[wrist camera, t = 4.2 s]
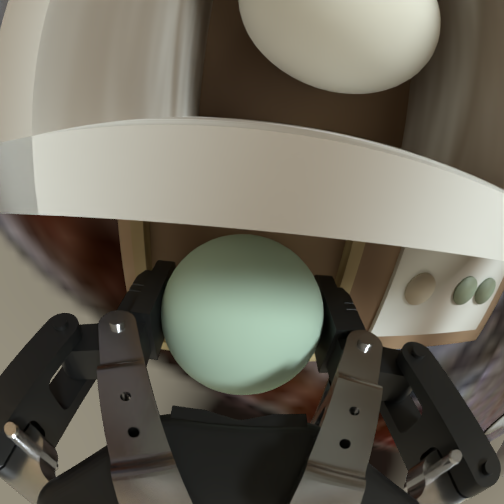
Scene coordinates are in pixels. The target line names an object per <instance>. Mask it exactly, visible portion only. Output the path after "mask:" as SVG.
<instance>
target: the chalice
mask: <svg viewBox="0 0 504 504" xmlns="http://www.w3.org/2000/svg"><path fill="white" fill-rule="evenodd" d="M498 428H503V429H504V415H503V416H502V417H501V418H500V419H499V420H498V421H496V422H495V423H494V424H493V425H492V426H491V427H490V428H489V429H488V430H487V431H486V432H485V435H488V434H490V433H492V432H494V431H495V430H497V429H498ZM496 455H497V457H498V459H499V461H500V465H501V473H500V476H501V477H503V476H504V442H503V443H502V445H501V447H500V449H499V450H498V452H497V454H496Z"/></svg>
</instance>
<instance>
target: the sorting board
mask: <svg viewBox="0 0 504 504" xmlns="http://www.w3.org/2000/svg"><path fill="white" fill-rule="evenodd" d="M437 2H438V5H439V9H440V17H441V27H440V36H439V41H438V44H437V46H436V49H435V51H434V53H433V55H432V57H431V58H430V60H429V62H428V63H427V64H426V65H425V66H424V67H423V68H422V69H421V70H420V72H419V73H418V74H416V75H415V76H413V77H412V78H411V79H409V80H408V81H406V82H404V83H402V84H400V85H398V86H396V87H393V88H390V89H387V90H384V91H380V92H375V93H368V94H345V93H337V92H330V91H326V90H323V89H319V88H316V87H313V86H311V85H308V84H305V83H303V82H301V81H299V80H297V79H295V78H293V77H291V76H290V75H288V74H287V73H285V72H283V71H282V70H280V69H279V68H278V67H277V66H275V65H274V64H273V63H271V62H270V61H269V60H268V59H267V58H266V57H265V56H264V55H263V54H262V53H261V52H260V50H259V49H258V48H257V47H256V46H255V44H254V43H253V41H252V40H251V38H250V36H249V35H248V33H247V31H246V28H245V26H244V24H243V21H242V17H241V14H240V11H239V2H238V0H9V1H8V4H7V8H6V11H5V14H4V18H3V21H2V25H1V29H0V213H6V214H32V215H54V216H74V217H91V218H108V219H118V228H119V238H120V248H121V256H122V263H123V271H124V277H125V284H126V290H127V292H128V291H129V289H130V287H131V285H133V282H134V280H135V279H136V277H137V276H138V275H139V274H141V273H142V272H143V271H145V270H150V271H152V269H153V267H154V266H155V264H156V262H157V261H158V260H163V261H173V262H175V264H176V267H177V266H178V264H179V263H180V262H181V261H182V260H183V259H184V258H185V257H186V256H187V255H188V254H189V253H190V252H191V251H193V250H194V249H196V248H197V247H199V246H200V245H202V244H204V243H206V242H208V241H210V240H213V239H216V238H218V237H222V236H227V235H234V234H251V235H257V236H262V237H266V238H269V239H272V240H274V241H276V242H279V243H280V244H282V245H284V246H285V247H287V248H289V249H290V250H291V251H293V252H294V253H295V254H296V255H298V256H299V257H300V259H301V260H302V261H303V262H304V263H305V264H306V265H307V266H308V268H309V269H310V271H311V272H312V274H313V276H315V275H329V276H333V278H334V281H335V283H336V285H337V287H341V288H343V289H344V290H345V291H346V292H347V293H349V294H350V296H351V298H352V300H353V304H354V305H355V307H356V310H357V311H358V313H359V316H360V318H361V320H362V322H363V325H364V327H365V329H366V331H369V332H371V333H373V334H375V335H376V336H377V337H378V338H379V339H380V340H381V342H382V345H383V347H387V348H391V349H402V347H403V345H404V344H405V343H407V342H418V343H420V344H422V345H424V346H425V347H426V346H436V345H445V344H453V343H460V342H467V341H473V340H476V339H477V337H478V336H479V334H480V332H481V331H482V329H483V327H484V326H485V324H486V322H487V321H488V319H489V317H490V315H491V313H492V312H493V310H494V308H495V306H496V304H497V302H498V300H499V298H500V296H501V294H502V292H503V290H504V0H437ZM161 349H164V350H169V348H168V346H167V343H166V340H165V338H164V341H163V344H162V347H161ZM309 361H316V357H315V353H314V354H313V356H312V357H311V359H310V360H309Z"/></svg>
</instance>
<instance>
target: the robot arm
mask: <svg viewBox="0 0 504 504" xmlns="http://www.w3.org/2000/svg"><path fill="white" fill-rule="evenodd" d="M175 268H176V264H175V262H173V261H163V260H158V261H157V262H156V264H155V266H154V267H153V269H152V271H150V270H145V271H143V272H142V273H141V274H139V275H138V276H137V277H136V279H135V280H134V282H133V285H131V287H130V289H129V291H128V292H127V294H126V295H125V297H124V299H123V300H122V302H121V304H120V306H119V307H118V309H117V310H116V311H111V312H109V313H107V314H105V315H104V316H103V317H102V318H101V319H100V320H99V323H97V324H83V325H79V322H78V320H77V318H76V317H75V316H74V315H72V314H69V313H61V314H57V315H55V316H53V317H52V318H50V319H49V320H48V321H47V322H46V323H45V324H44V325H43V327H42V328H41V329H40V330H39V331H38V332H37V333H36V334H35V335H34V337H33V338H32V339H31V340H30V341H29V342H28V343H27V344H26V345H25V347H24V348H23V349H22V350H21V351H20V352H19V354H18V355H17V356H16V357H15V358H14V360H13V361H12V362H11V363H10V364H9V365H8V367H7V368H6V369H5V370H4V372H3V373H2V374H1V376H0V478H1V479H3V480H4V481H5V482H6V483H7V484H9V485H10V486H11V487H12V488H13V489H15V490H16V491H17V492H18V493H19V494H20V495H22V496H23V497H24V498H25V499H27V500H28V501H29V502H31V503H32V504H460V503H462V502H464V501H466V500H468V499H470V498H472V497H473V496H475V495H477V494H479V493H481V492H482V491H484V490H486V489H487V488H489V487H491V486H492V485H494V484H495V483H496V482H497V480H498V479H499V476H500V473H501V465H500V461H499V459H498V457H497V455H496V453H495V451H494V449H493V448H492V446H491V444H490V442H489V441H488V439H487V437H486V435H485V434H484V432H483V430H482V428H481V427H480V425H479V423H478V422H477V420H476V419H475V417H474V415H473V414H472V412H471V410H470V409H469V407H468V406H467V404H466V403H465V401H464V400H463V398H462V396H461V395H460V393H459V392H458V390H457V389H456V387H455V386H454V384H453V383H452V381H451V380H450V379H449V377H448V376H447V374H446V373H445V371H444V370H443V369H442V367H441V366H440V364H439V363H438V361H437V360H436V359H435V357H434V356H433V355H432V353H431V352H430V350H429V349H428V348H427V347H425V346H424V345H422V344H420V343H418V342H407V343H405V344H404V345H403V347H402V349H401V350H396V349H391V348H387V347H383V345H382V342H381V340H380V339H379V338H378V337H377V336H376V335H375V334H373V333H371V332H369V331H366V329H365V327H364V325H363V322H362V320H361V318H360V316H359V313H358V311H357V310H356V307H355V305H354V304H353V300H352V298H351V296H350V294H349V293H347V292H346V291H345V290H344V289H343V288H341V287H337V285H336V283H335V281H334V278H333V276H329V275H315V276H314V278H315V280H316V282H317V284H318V286H319V289H320V292H321V296H322V301H323V309H324V321H323V329H322V334H321V337H320V341H319V343H318V345H317V348H316V350H315V352H314V353H315V357H316V362H317V367H318V371H319V373H328V374H329V379H328V381H327V383H326V385H325V388H324V391H323V394H322V396H321V399H320V402H319V404H318V407H317V410H316V412H315V415H314V417H313V419H312V422H311V423H307V418H306V414H273V415H268V416H263V417H257V418H252V419H246V420H236V419H232V418H229V417H226V416H223V415H219V414H216V413H213V412H210V411H207V410H201V409H193V408H186V407H179V406H172V411H171V414H166V415H160V414H159V411H158V408H157V405H156V401H155V398H154V394H153V390H152V387H151V383H150V379H149V376H148V371H147V368H146V366H147V363H148V360H149V359H154V360H158V357H159V354H160V350H161V347H162V344H163V341H164V338H165V337H164V334H163V330H162V323H161V306H162V299H163V295H164V291H165V288H166V285H167V282H168V280H169V279H170V277H171V275H172V273H173V271H174V270H175ZM61 365H62V368H61V369H60V371H59V372H58V373H57V375H56V376H55V378H54V379H53V380H52V382H51V383H50V380H51V378H52V377H53V375H54V374H55V373H56V371H57V370H58V368H59V367H60V366H61ZM96 379H97V380H98V390H99V399H100V406H101V413H102V420H103V426H104V432H105V437H106V441H107V445H106V446H105V447H103V448H102V449H100V450H99V451H97V452H96V453H94V454H93V455H91V456H90V457H88V458H86V459H85V460H83V461H82V462H80V463H79V464H77V465H76V466H74V467H72V468H71V469H69V470H67V471H66V472H64V473H62V474H61V475H59V476H57V477H56V476H55V471H56V470H57V469H58V455H57V451H56V449H55V447H56V445H57V444H58V442H59V440H60V438H61V437H62V435H63V433H64V431H65V430H66V428H67V426H68V424H69V423H70V421H71V419H72V418H73V416H74V414H75V413H76V411H77V409H78V408H79V406H80V404H81V403H82V401H83V399H84V398H85V396H86V395H87V393H88V391H89V390H90V388H91V387H92V385H93V383H94V382H95V380H96ZM49 383H50V384H49ZM412 390H413V392H414V393H415V395H416V397H417V398H418V400H419V402H420V404H421V406H422V410H423V412H422V416H421V414H420V412H419V410H418V409H417V407H416V405H415V403H414V402H413V400H412V398H411V396H410V395H409V394H410V392H411V391H412ZM379 411H380V412H381V414H382V416H383V419H384V421H385V423H386V425H387V427H388V429H389V431H390V433H391V435H392V437H393V439H394V442H395V444H396V446H397V448H398V450H399V452H400V454H401V457H402V459H403V461H404V463H405V465H406V468H407V470H408V473H407V476H406V482H405V484H404V490H405V491H404V490H402V489H401V488H400V487H398V486H397V485H396V484H394V483H393V482H392V481H391V480H389V479H388V478H387V477H385V476H384V475H383V474H382V473H380V472H379V471H378V470H377V469H376V468H374V467H373V466H372V465H371V464H369V463H368V461H369V457H370V453H371V449H372V445H373V441H374V436H375V431H376V427H377V422H378V416H379ZM406 492H407V493H406Z"/></svg>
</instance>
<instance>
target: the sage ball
mask: <svg viewBox="0 0 504 504" xmlns="http://www.w3.org/2000/svg"><path fill="white" fill-rule="evenodd" d="M323 321H324V309H323V301H322V296H321V292H320V289H319V286H318V284H317V282H316V280H315V278H314V276H313V274H312V272H311V271H310V269H309V268H308V266H307V265H306V264H305V263H304V262H303V261H302V260H301V259H300V257H299V256H298V255H296V254H295V253H294V252H293V251H291V250H290V249H289V248H287V247H285V246H284V245H282V244H280V243H279V242H276V241H274V240H272V239H269V238H266V237H262V236H257V235H251V234H234V235H227V236H222V237H218V238H216V239H213V240H210V241H208V242H206V243H204V244H202V245H200V246H199V247H197V248H196V249H194V250H193V251H191V252H190V253H189V254H188V255H187V256H186V257H185V258H184V259H183V260H182V261H181V262H180V263H179V264H178V266H177V267H176V268H175V270H174V271H173V273H172V275H171V277H170V279H169V280H168V282H167V285H166V288H165V291H164V295H163V299H162V306H161V323H162V330H163V334H164V337H165V340H166V343H167V346H168V348H169V350H170V352H171V354H172V355H173V357H174V359H175V360H176V362H177V363H178V364H179V365H180V367H181V368H182V369H183V370H184V371H185V372H186V373H187V374H188V375H189V376H191V377H192V378H193V379H195V380H196V381H198V382H199V383H201V384H203V385H204V386H206V387H208V388H211V389H213V390H216V391H219V392H223V393H228V394H235V395H250V394H258V393H263V392H266V391H270V390H272V389H275V388H277V387H279V386H281V385H283V384H284V383H286V382H288V381H289V380H291V379H292V378H293V377H294V376H296V375H297V374H298V373H299V372H300V371H301V370H302V369H303V368H304V367H305V366H306V364H307V363H308V361H309V360H310V359H311V357H312V356H313V354H314V352H315V350H316V348H317V345H318V343H319V341H320V337H321V334H322V329H323Z"/></svg>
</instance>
